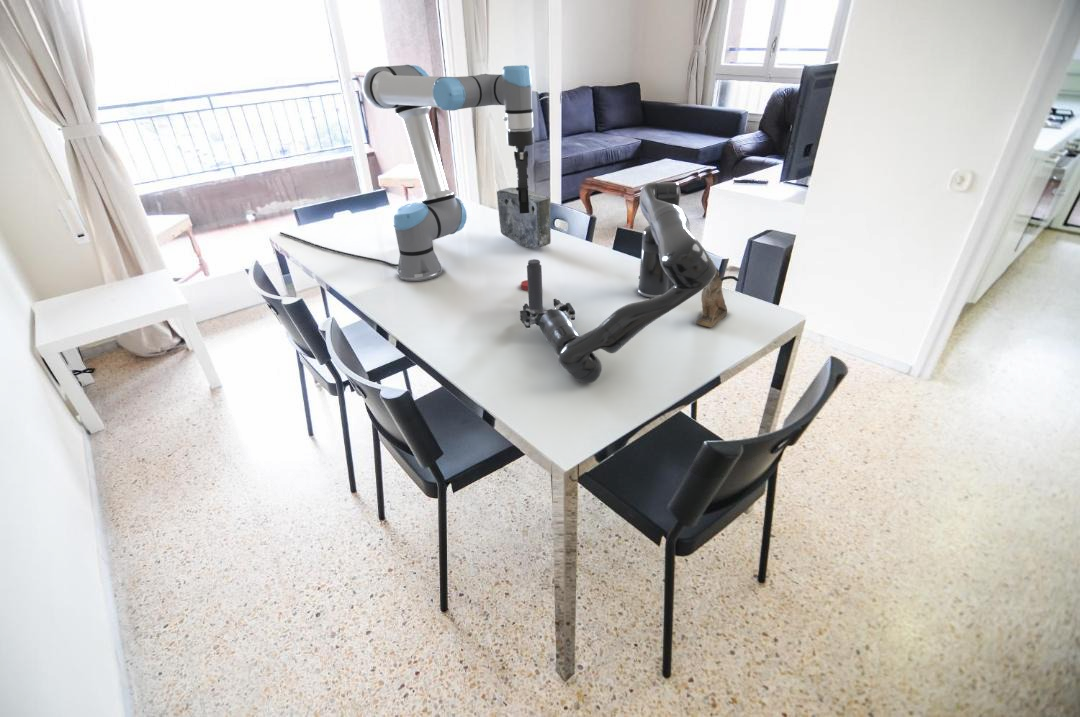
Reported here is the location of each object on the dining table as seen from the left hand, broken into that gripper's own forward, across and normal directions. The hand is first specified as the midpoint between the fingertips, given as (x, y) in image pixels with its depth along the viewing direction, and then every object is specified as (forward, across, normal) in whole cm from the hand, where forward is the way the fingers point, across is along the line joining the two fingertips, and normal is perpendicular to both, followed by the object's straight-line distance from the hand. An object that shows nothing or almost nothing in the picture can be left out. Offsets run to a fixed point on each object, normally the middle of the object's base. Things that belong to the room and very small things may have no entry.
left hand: (523, 206), depth 149 cm
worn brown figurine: (+26, +29, +51) cm, 64 cm away
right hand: (+21, +25, +3) cm, 32 cm away
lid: (+25, 0, 0) cm, 25 cm away
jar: (+26, +18, +2) cm, 32 cm away
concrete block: (+26, -43, +1) cm, 50 cm away
